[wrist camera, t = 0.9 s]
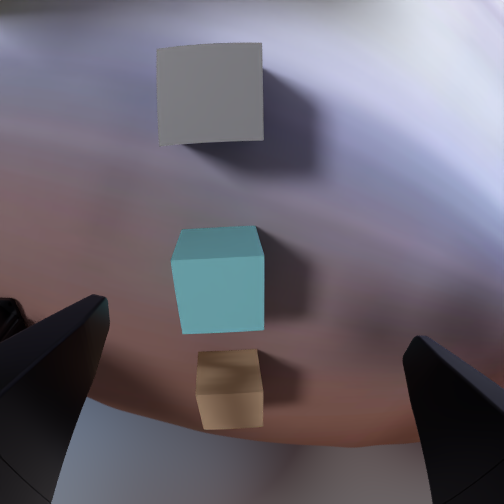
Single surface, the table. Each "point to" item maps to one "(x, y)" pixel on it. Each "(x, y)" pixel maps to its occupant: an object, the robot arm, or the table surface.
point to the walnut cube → (229, 389)
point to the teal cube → (219, 280)
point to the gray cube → (210, 93)
